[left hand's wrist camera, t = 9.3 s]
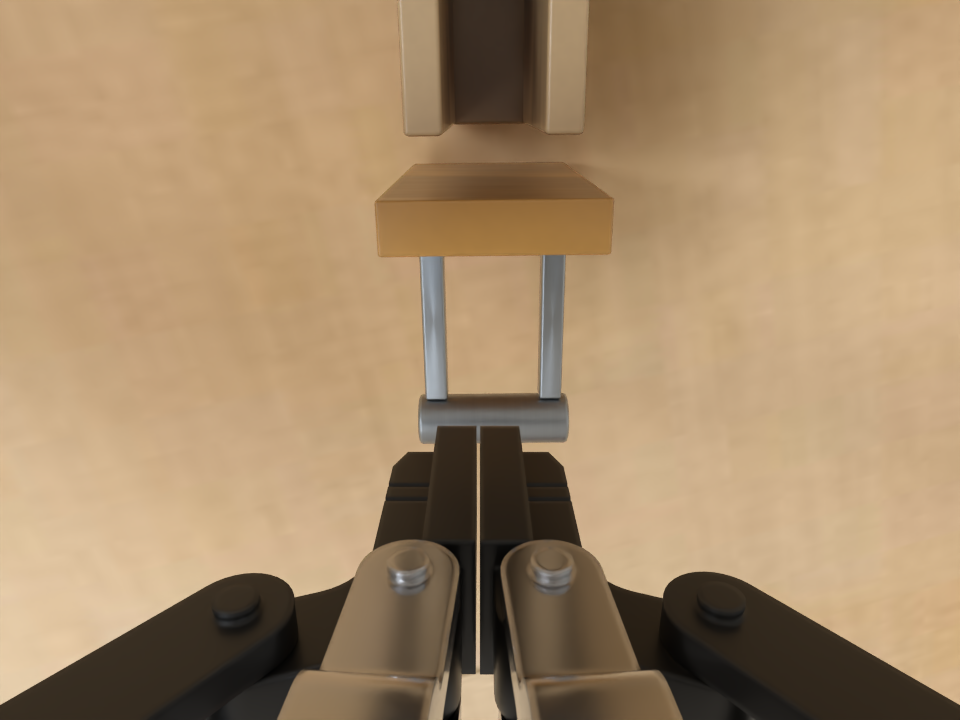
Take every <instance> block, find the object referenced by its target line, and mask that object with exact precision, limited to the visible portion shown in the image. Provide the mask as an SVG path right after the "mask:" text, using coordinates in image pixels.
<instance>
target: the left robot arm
mask: <svg viewBox="0 0 960 720" xmlns="http://www.w3.org/2000/svg"><path fill="white" fill-rule="evenodd" d="M476 556H477V426H437V431H436V439H435V447H434V452H408V453H407V454H406V455H405V456H403V457H402V458H401V459H400V460H399V461H398V462H397V463H396V464H395V465H394V466H393V469H392V473H391V477H390V481H389V487H388V490H387V494H386V501H385V502H384V506H383V511H382V515H381V519H380V523H379V527H378V531H377V536H376V540H375V544H374V548H373V551H372V552H370V553H369V554H368V555H367V556H366V557H365V558H364V559H363V560H362V562H361V563H360V565H359V567H358V569H357V572H356V575H355V577H353V578H352V579H350V580H349V581H347V582H345V583H343V584H341V585H339V586H337V587H334V588H332V589H329V590H325V591H321V592H317V593H313V594H308V595H304V596H300V597H295V598H294V594H293V591H292V589H291V587H290V586H289V585H288V584H287V583H286V582H285V581H284V580H282V579H280V578H278V577H275V576H272V575H268V574H262V573H249V574H240V575H235V576H231V577H227V578H224V579H222V580H219V581H216V582H214V583H212V584H210V585H208V586H206V587H205V588H203V589H201V590H199V591H198V592H196V593H194V594H193V595H191V596H189V597H187V598H186V599H184V600H182V601H180V602H179V603H177V604H175V605H173V606H172V607H170V608H168V609H166V610H165V611H163V612H161V613H159V614H158V615H156V616H154V617H153V618H151V619H149V620H147V621H146V622H144V623H142V624H140V625H139V626H137V627H135V628H133V629H132V630H130V631H128V632H126V633H125V634H123V635H121V636H120V637H118V638H116V639H114V640H113V641H111V642H109V643H107V644H106V645H104V646H102V647H100V648H99V649H97V650H95V651H93V652H92V653H90V654H88V655H87V656H85V657H83V658H81V659H80V660H78V661H76V662H74V663H73V664H71V665H69V666H67V667H66V668H64V669H62V670H60V671H59V672H57V673H55V674H54V675H52V676H50V677H48V678H47V679H45V680H43V681H41V682H40V683H38V684H36V685H34V686H33V687H31V688H29V689H27V690H26V691H24V692H22V693H20V694H19V695H17V696H15V697H14V698H12V699H10V700H8V701H7V702H5V703H3V704H1V705H0V720H461V679H462V674H476ZM480 674H494V695H495V701H496V704H497V707H498V709H499V720H960V705H959V704H957V703H955V702H953V701H952V700H950V699H948V698H946V697H945V696H943V695H941V694H939V693H938V692H936V691H934V690H933V689H931V688H929V687H927V686H926V685H924V684H922V683H920V682H919V681H917V680H915V679H913V678H912V677H910V676H908V675H906V674H905V673H903V672H901V671H900V670H898V669H896V668H894V667H893V666H891V665H889V664H887V663H886V662H884V661H882V660H880V659H879V658H877V657H875V656H873V655H872V654H870V653H868V652H867V651H865V650H863V649H861V648H860V647H858V646H856V645H854V644H853V643H851V642H849V641H847V640H846V639H844V638H842V637H840V636H839V635H837V634H835V633H833V632H832V631H830V630H828V629H827V628H825V627H823V626H821V625H820V624H818V623H816V622H814V621H813V620H811V619H809V618H807V617H806V616H804V615H802V614H800V613H799V612H797V611H795V610H794V609H792V608H790V607H788V606H787V605H785V604H783V603H781V602H780V601H778V600H776V599H774V598H773V597H771V596H769V595H767V594H766V593H764V592H762V591H761V590H759V589H757V588H755V587H754V586H752V585H750V584H748V583H746V582H744V581H742V580H740V579H737V578H735V577H732V576H728V575H725V574H720V573H714V572H693V573H687V574H684V575H681V576H679V577H677V578H675V579H673V580H672V581H671V582H670V583H669V584H668V585H667V587H666V588H665V591H664V594H663V598H659V597H654V596H650V595H646V594H641V593H637V592H633V591H629V590H626V589H623V588H620V587H618V586H615V585H613V584H611V583H610V582H608V581H607V580H606V577H605V575H604V572H603V569H602V567H601V565H600V563H599V562H598V560H597V559H596V558H595V557H594V556H593V555H592V554H591V553H590V552H588V551H586V550H585V549H583V548H582V546H581V541H580V537H579V533H578V528H577V524H576V519H575V515H574V511H573V506H572V502H571V500H570V493H569V489H568V487H567V480H566V476H565V472H564V467H563V466H562V465H561V464H560V463H559V462H558V461H557V460H556V459H555V458H554V457H553V456H552V455H551V454H550V453H549V452H522V444H521V436H520V428H519V426H480Z"/></svg>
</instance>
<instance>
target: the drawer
mask: <svg viewBox="0 0 960 720" xmlns="http://www.w3.org/2000/svg"><path fill="white" fill-rule="evenodd" d="M397 6H398V26H399V47H400V67H401V87H402V108H403V128H404V133H405V135H406V136H439V135H441V134H443V133H444V132H445V131H446V130H447V129H449V128H450V127H451V126H452V125H453V124H523V123H525V124H528V125H530V126H532V127H534V128H536V129H538V130H540V131H542V132H545V133H547V134H549V135H563V134H581V133H583V131H584V119H585V95H586V70H587V46H588V22H589V0H397ZM613 211H614V199H613V198H612V197H610V196H609V195H608V194H606V193H605V192H603V191H602V190H601V189H599V188H598V187H597V186H595V185H594V184H592V183H591V182H590V181H588V180H587V179H586V178H584V177H583V176H581V175H580V174H579V173H577V172H576V171H574V170H573V169H572V168H570V167H569V166H568V165H566V164H565V163H563V162H544V163H460V164H414V165H413V166H412V167H411V168H410V169H409V170H408V171H407V172H406V173H405V174H404V175H403V176H402V177H401V178H400V179H399V180H397V181H396V182H395V183H394V184H393V185H392V186H391V187H390V188H389V189H388V190H387V191H386V192H385V193H384V194H383V195H382V196H381V197H380V198H378V199H377V200H376V201H375V216H376V232H377V247H378V255H379V257H420V278H421V301H422V324H423V347H424V369H425V392H426V394H423V395H421V397H420V399H419V409H418V428H419V438H420V441H421V443H423V444H435V439H436V431H437V426H477V443H480V426H519V428H520V436H521V443H547V442H565V441H567V438H568V433H569V408H568V400H567V397H566V395H565V394H564V393H561V379H562V349H563V320H564V291H565V261H566V255H608V254H610V253H611V246H612V228H613ZM527 255H540V300H539V349H538V393H514V394H448V363H447V330H446V297H445V265H444V256H527Z"/></svg>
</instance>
